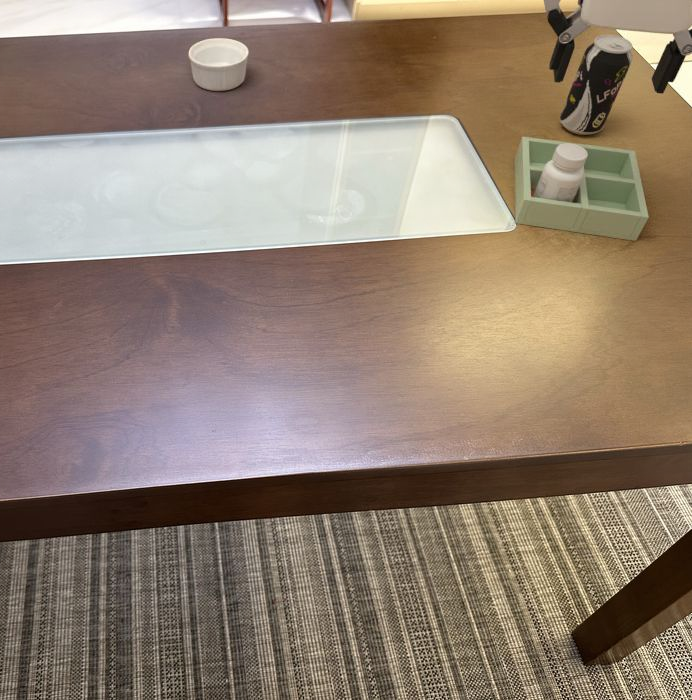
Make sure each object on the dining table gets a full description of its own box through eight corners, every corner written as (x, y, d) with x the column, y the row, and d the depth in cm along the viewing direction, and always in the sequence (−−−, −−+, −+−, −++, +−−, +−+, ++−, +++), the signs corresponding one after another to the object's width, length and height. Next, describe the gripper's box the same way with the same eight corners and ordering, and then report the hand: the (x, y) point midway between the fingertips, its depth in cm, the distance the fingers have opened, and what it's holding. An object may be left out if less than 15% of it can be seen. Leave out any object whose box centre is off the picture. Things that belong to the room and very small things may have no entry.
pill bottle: (574, 205, 87) (599, 150, 82) (558, 222, 85) (582, 167, 79) (540, 190, 89) (562, 135, 84) (524, 207, 87) (545, 152, 81)
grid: (623, 174, 93) (635, 150, 90) (635, 241, 84) (649, 217, 81) (514, 159, 95) (522, 136, 92) (515, 223, 86) (524, 199, 84)
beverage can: (576, 142, 98) (611, 56, 89) (549, 121, 101) (580, 36, 92) (610, 133, 99) (648, 48, 90) (582, 112, 102) (615, 28, 93)
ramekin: (182, 90, 107) (181, 62, 104) (198, 61, 113) (197, 34, 110) (240, 97, 106) (241, 69, 103) (253, 68, 111) (254, 40, 108)
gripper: (783, -116, 62) (691, 73, 75) (573, -128, 65) (518, 56, 78) (807, -87, 57) (704, 110, 70) (578, -102, 60) (519, 89, 73)
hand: (606, 81), depth 74 cm, fingers open, 9 cm apart
